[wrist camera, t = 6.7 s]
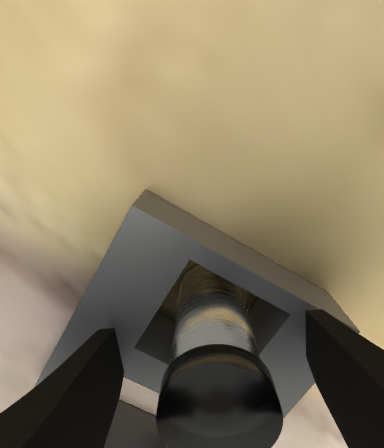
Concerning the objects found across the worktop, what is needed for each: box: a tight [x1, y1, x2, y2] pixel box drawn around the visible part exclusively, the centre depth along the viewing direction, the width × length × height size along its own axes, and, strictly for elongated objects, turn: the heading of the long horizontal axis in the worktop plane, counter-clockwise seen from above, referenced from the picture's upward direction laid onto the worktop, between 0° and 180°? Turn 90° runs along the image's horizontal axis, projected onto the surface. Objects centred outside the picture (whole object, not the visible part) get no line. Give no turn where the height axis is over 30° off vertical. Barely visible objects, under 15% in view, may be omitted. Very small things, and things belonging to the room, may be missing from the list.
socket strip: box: [34, 190, 360, 448], centre depth 14 cm, size 10×12×3 cm
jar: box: [156, 265, 283, 448], centre depth 12 cm, size 3×3×7 cm
